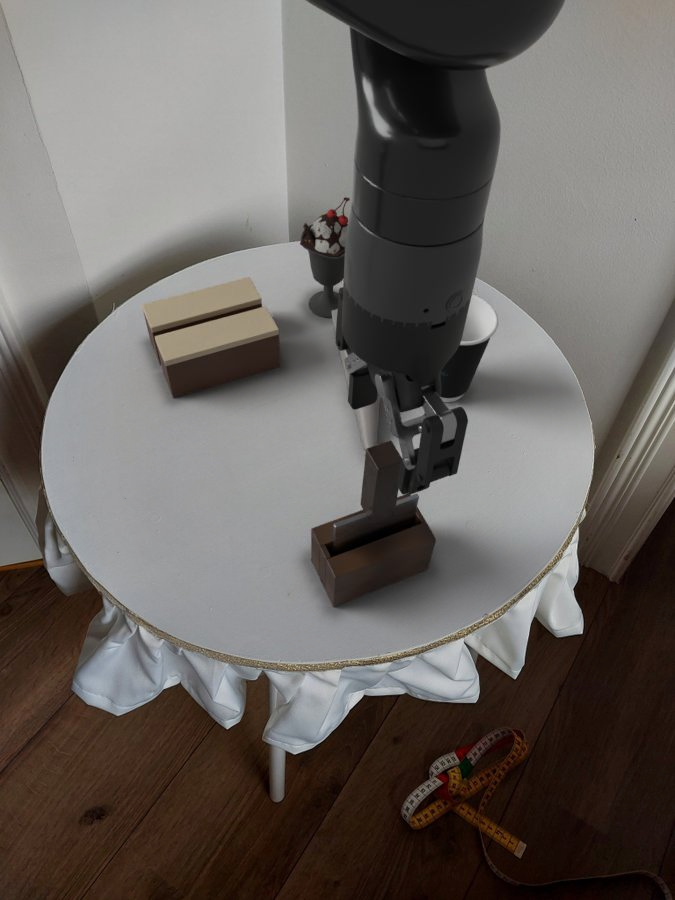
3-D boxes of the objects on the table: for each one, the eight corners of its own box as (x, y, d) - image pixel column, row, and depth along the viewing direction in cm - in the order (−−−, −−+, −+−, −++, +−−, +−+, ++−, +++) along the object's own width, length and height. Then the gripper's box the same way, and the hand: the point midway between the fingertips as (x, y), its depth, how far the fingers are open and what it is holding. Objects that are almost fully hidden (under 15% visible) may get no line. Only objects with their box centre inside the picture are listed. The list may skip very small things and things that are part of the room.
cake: (173, 398, 82) (164, 361, 77) (150, 342, 87) (141, 304, 82) (280, 366, 85) (278, 329, 81) (252, 314, 91) (249, 276, 86)
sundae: (364, 299, 93) (372, 196, 81) (336, 329, 89) (339, 227, 77) (321, 280, 95) (322, 177, 83) (291, 309, 91) (289, 205, 79)
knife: (336, 589, 68) (343, 482, 54) (326, 569, 70) (331, 460, 55) (411, 559, 71) (437, 449, 56) (401, 541, 72) (424, 428, 57)
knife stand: (333, 607, 67) (335, 578, 62) (311, 559, 70) (311, 528, 65) (428, 569, 70) (436, 538, 65) (402, 525, 73) (409, 492, 68)
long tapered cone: (423, 429, 75) (383, 293, 85) (362, 441, 75) (330, 303, 84) (421, 456, 80) (384, 324, 90) (364, 467, 80) (334, 334, 89)
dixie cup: (483, 370, 86) (503, 299, 77) (472, 419, 81) (492, 350, 73) (418, 355, 87) (430, 284, 78) (404, 403, 82) (415, 333, 74)
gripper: (301, 218, 44) (304, 392, 57) (407, 377, 37) (382, 537, 50) (410, 191, 46) (389, 366, 59) (532, 337, 39) (477, 501, 52)
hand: (386, 444), depth 55 cm, fingers open, 8 cm apart
